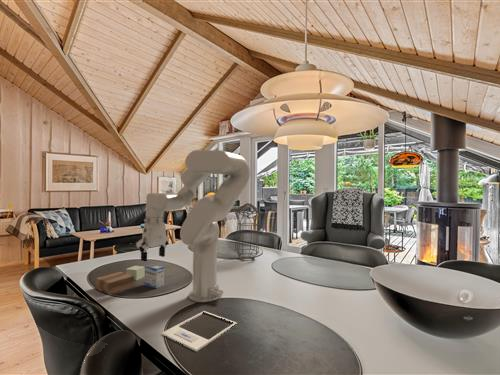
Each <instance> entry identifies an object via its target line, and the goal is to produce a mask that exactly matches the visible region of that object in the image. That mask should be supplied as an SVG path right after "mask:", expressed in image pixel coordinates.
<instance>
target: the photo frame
mask: <svg viewBox="0 0 500 375" xmlns="http://www.w3.org/2000/svg"><path fill="white" fill-rule="evenodd" d="M203 312H204V313H205V314H208V315H211V316H214V317H216V318H219V319H221V318H222V320H224V319H225V320H224V321H226V322H229V321H230V323H232V322H233V323H232V324H230V325H228V327H226V328H224V329H223V330H221V331H220V332H218V333H216V335H214V336H212V337H211V338H210V339H207V338H205V337H203V336H201V335H198V334H196V333H193V332H192V331H188V330H187V329H185V328H182V327H181V326H183V325H185V324H187V323H189V322H191V321H193V320H195V319H197V318H199V316H200V317H201V316H202V315H203ZM192 319H193V320H192ZM190 320H191V321H190ZM186 322H187V323H186ZM235 324H237V325H238V322H236V321H233V320H231V319H228V318H225V317H222V316H219V315H217V314H214V313H211V312H208V311H206V310H203V311H201V312H199V313H197V314H195V315H193V316H191V317H190V318H187V319H186V320H184V321H182V322H180V323H178V324H175V325H173V326H172V327H170V328H168V329H166V330H164V331H163V332H161V335H162V336H165V337H166V336H167V337H166V338H168V339H170V340H172V341H175V342H176V341H177V342H176V343H178V342H179V343H178V344H180V343H181V344H180V345H182V344H183V345H182V346H183V347H186V348H187V349H190V350H193V351H194V352H198V351H200V350H201V349H202V348H204V347H206V346H207V345H209V344H210V343H212V342H213V341H215V340H216V339H217V338H219V337H220V336H222V335H223V334H225V333H226V332H228V331H229V330H231V329H232V328H233V327H232V326H234V325H235ZM235 326H236V325H235ZM235 326H234V327H235ZM231 327H232V328H231ZM230 328H231V329H230ZM227 330H228V331H227ZM224 332H225V333H224ZM221 334H222V335H221Z"/></svg>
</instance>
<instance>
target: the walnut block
mask: <svg viewBox="0 0 500 375" xmlns="http://www.w3.org/2000/svg"><path fill="white" fill-rule="evenodd" d="M134 287H135V280H134V276H132V275H129V274H126V272H123V271H117V272H113V273H110V274H106V275H102V276H98V277H95V289H96V290H97V289H98V291H99V292H102V291H103V292H102V293H104V292H105V293H104V294H107V293H108V295H109V294H110V295H112V294H111V293H113V294H115V292H116V293H119V292H122V291H125V290H128V289H130V288H134ZM118 291H119V292H118Z"/></svg>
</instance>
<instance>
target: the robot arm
mask: <svg viewBox="0 0 500 375" xmlns="http://www.w3.org/2000/svg"><path fill="white" fill-rule="evenodd" d="M184 164H185V170H184V171H183V172H182V173H181V174H180V180H181V182H182V184H183V186H182V188H181V189H180V190H179V191H177V192H173V193H172V192H171V193H168V192H167V193H166V192H165V193H160V192H149V193H147V194H146V200H145V201H146V203H145V218H144V219H143V222H144V225H143V229H142V235H141V236H142V237H141V239H139V240H138V241H136V243H135V245H136V247H137V249H138V250H139V252H140V261H142V262H147V261H148V251H147V250H148V249H149V248H156V247H159V248H158V256H159V257H165V255H166V248H167V246H168V244H169V241H170V239H171V238H170V236H168V235H167V230H166V224H165V222H164V215H165V214H164V212H167V211H176V210H178V211H179V210H182V209H183V208H185V207H186V206H187V205H188V204H189V203H190V202H191V201H192V200H193V199H194V198H195V195H196V192H197V189H198V188H199V187H200V185H202V184H203V183H204V182H205V181H206V180H207V179H208V178H209V176H211V175H213V174H217V175H227V177H226V179H224V181H222V182H221V184H220V185H219V186H218V188H217V191H216V192H215V193H214V194H213V195H212V196H207V197H202V198H200V199H198V201H196V202H195V203H194V205H193V206H192V208H191V210H190V211H189V212H188V214H187V216H186V218H185V220H184V221H183V222H182V224H181V228H180V231H179V236H180V237H179V238H180V241H181V242H182V243H183V244H184V245H186V246H190V247H193V246H194V247H193V253H192V290H191V291H190V292H189V293H188V299H189V300H191V301H192V302H196V303H209V302H213V301H216V300H218V299H221V298H222V296H223V294H224V290H222V289H219V286H220V285H218V284H217V278H218V276H217V269H218V268H217V267H218V266H217V265H218V264H217V263H218V262H217V261H218V259H217V258H218V244H219V243H218V242H219V238H220V227H219V224H218V221H222V220H225V219H226V218H227V217H228V215H229V213H230V211H231V210H233V207H234V206H235V204H236V203H237V200H238V199H239V197H240V196H241V194H242V193H243V191H244V189H245V188H246V187H247V184H248V183H249V179H250V176H251V175H250V174H251V173H250V172H251V170H250V165H249V163H248V161H247V160H246V159H245V158H244V157H243V156H242V155H240V154H237V153H234V152H229V151H226V150H220V149H217V150H215V149H213V150H212V149H210V150H209V149H206V150H205V149H200V150H199V149H196V150H192V151H190V152H189V153H188V154H187V156H186V157H185V161H184Z"/></svg>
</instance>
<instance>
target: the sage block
mask: <svg viewBox="0 0 500 375" xmlns="http://www.w3.org/2000/svg"><path fill="white" fill-rule="evenodd" d="M125 270H126V271H125V273H126V274H129V275H132V276H134V281H139V280H141V279H143V278H144V274H145V266H141V265H133V266H130V267H128V268H126V269H125Z"/></svg>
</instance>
